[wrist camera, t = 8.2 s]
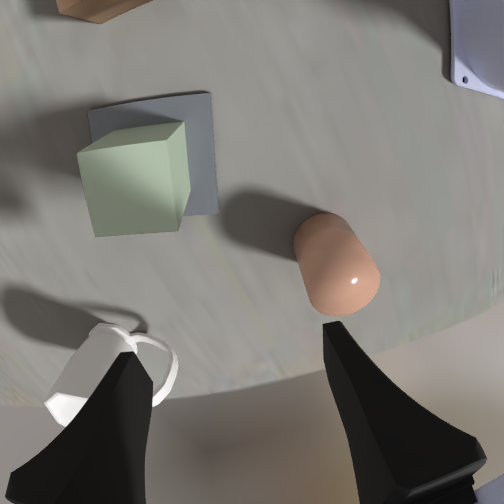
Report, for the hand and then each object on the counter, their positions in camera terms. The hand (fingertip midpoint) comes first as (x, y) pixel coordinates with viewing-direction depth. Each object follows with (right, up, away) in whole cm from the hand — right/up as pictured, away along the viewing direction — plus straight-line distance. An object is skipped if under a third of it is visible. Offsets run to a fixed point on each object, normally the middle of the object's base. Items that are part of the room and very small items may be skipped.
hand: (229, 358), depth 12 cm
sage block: (-5, +9, +5) cm, 12 cm away
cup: (-9, -3, +13) cm, 16 cm away
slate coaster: (-5, +9, +6) cm, 12 cm away
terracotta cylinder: (+5, +5, +9) cm, 12 cm away
